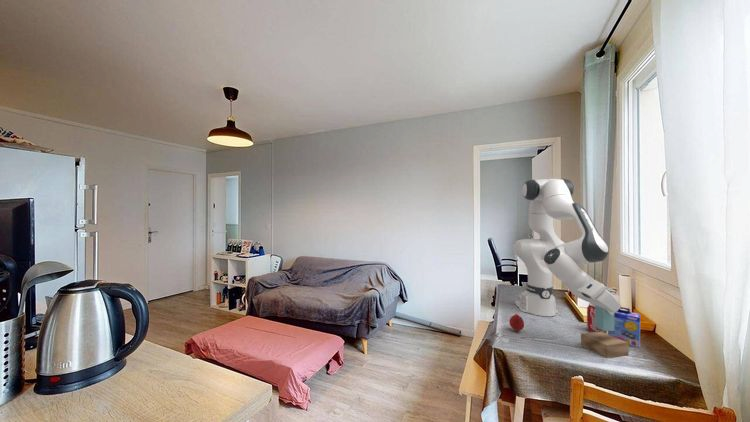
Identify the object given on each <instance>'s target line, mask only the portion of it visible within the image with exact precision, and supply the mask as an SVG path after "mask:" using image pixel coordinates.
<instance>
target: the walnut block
mask: <svg viewBox="0 0 750 422" xmlns="http://www.w3.org/2000/svg"><path fill="white" fill-rule="evenodd" d="M580 346H581V347H584V348H585V349H588V350H589V351H592V352H594V353H596V354H597V353H598V354H597V355H600V356H601V355H602V357H604V358H606V359H611V358H619V357H620V358H621V357H629V345H628V342H625V341H623V340H620V339H618V338H616V337H613V336H611V335H608V333H604V332H591V331H590V332H583V333H580Z"/></svg>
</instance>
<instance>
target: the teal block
mask: <svg viewBox="0 0 750 422" xmlns="http://www.w3.org/2000/svg"><path fill="white" fill-rule="evenodd" d="M595 326H596V327H598V328H599V329H601V330H603V331H607V332H608V331H614V314H613V315H611V314H609V313H607V312H606V309H603V308H601V307H599V306H596V305H595Z"/></svg>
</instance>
